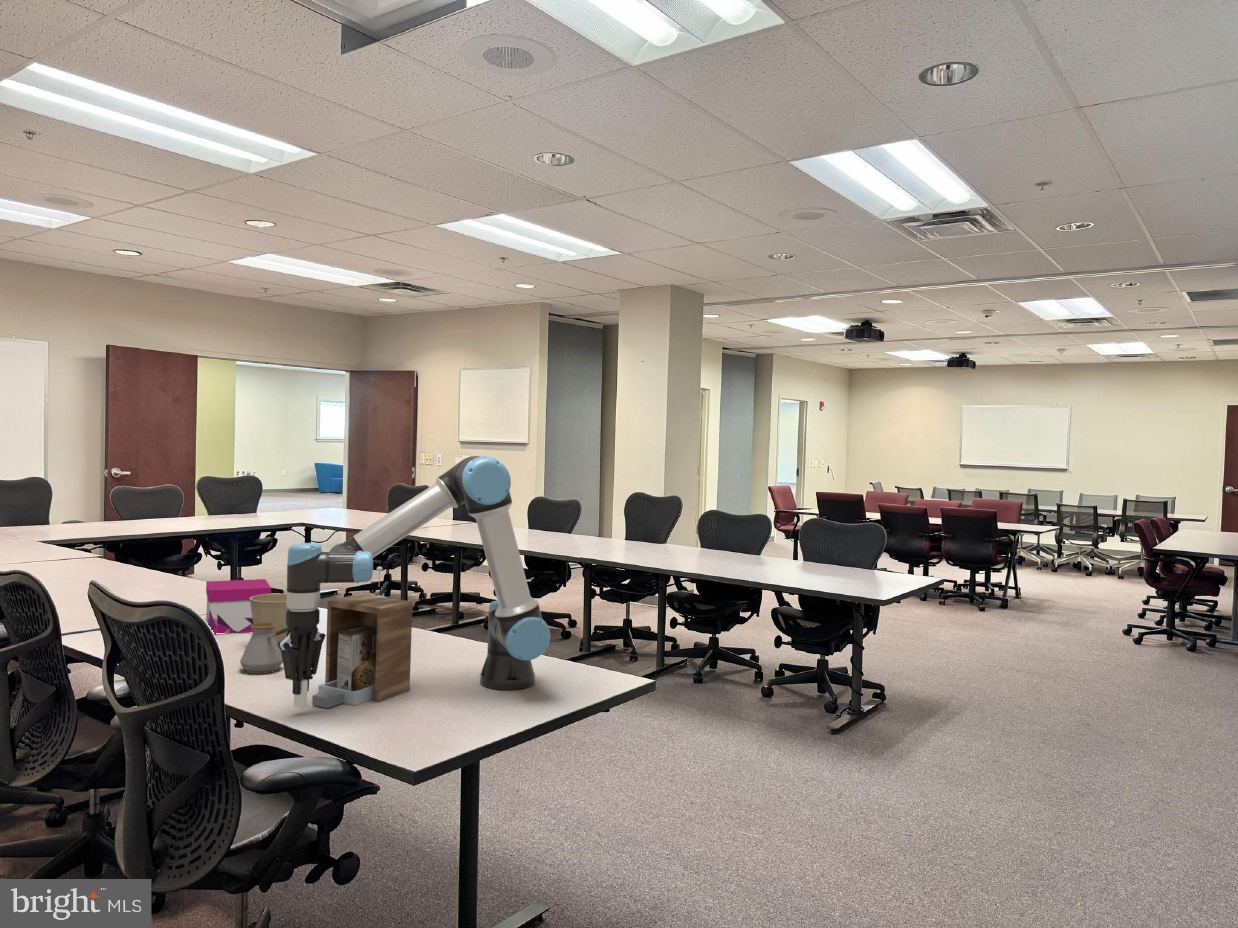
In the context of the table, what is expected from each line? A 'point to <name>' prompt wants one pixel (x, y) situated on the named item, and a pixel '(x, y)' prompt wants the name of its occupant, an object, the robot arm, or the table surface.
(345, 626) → the wooden cubby shelf
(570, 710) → the table surface
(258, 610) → the plant pot
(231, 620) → the decorative box
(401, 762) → the table surface
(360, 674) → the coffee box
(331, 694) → the tray
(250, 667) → the coffee pot
